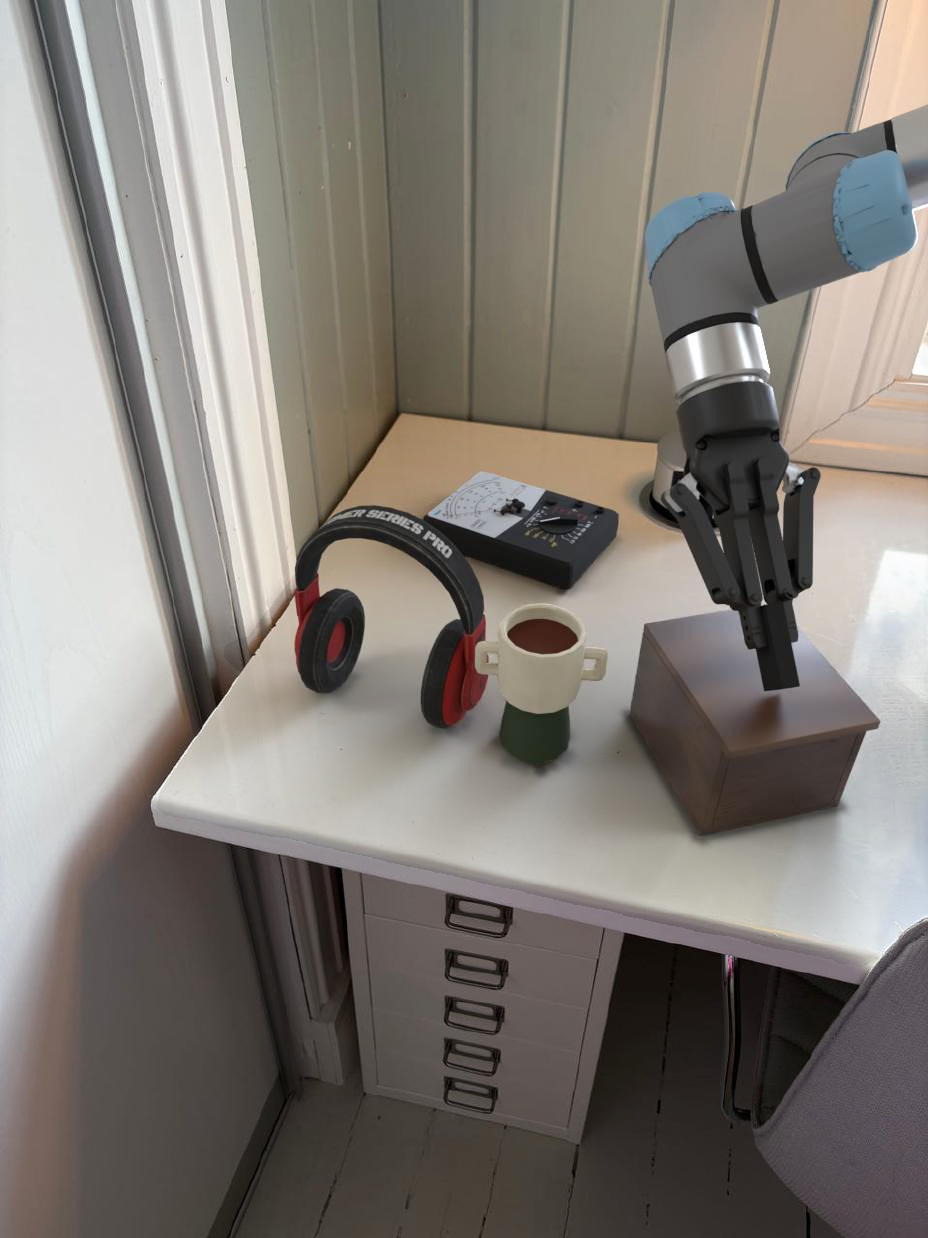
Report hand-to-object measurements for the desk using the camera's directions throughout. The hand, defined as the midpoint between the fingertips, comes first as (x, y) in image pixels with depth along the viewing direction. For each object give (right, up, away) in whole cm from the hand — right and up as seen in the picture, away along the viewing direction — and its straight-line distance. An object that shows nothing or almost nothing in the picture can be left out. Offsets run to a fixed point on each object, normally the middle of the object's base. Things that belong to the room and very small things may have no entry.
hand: (781, 688), depth 71 cm
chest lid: (-1, +1, +4) cm, 4 cm away
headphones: (-31, -2, +16) cm, 35 cm away
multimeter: (-18, +14, +38) cm, 44 cm away
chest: (-1, -7, +10) cm, 13 cm away
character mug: (-18, -6, +12) cm, 22 cm away
